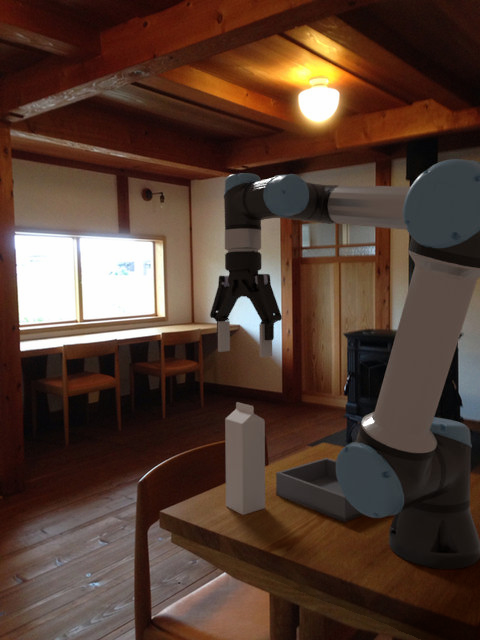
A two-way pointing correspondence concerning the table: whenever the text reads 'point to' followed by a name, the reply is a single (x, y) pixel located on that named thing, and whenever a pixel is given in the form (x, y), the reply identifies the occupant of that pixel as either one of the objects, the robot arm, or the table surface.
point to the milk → (245, 460)
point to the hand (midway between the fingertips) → (244, 354)
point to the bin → (316, 489)
